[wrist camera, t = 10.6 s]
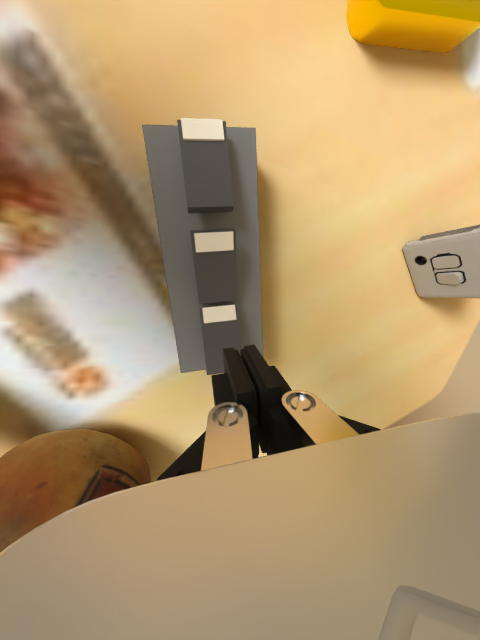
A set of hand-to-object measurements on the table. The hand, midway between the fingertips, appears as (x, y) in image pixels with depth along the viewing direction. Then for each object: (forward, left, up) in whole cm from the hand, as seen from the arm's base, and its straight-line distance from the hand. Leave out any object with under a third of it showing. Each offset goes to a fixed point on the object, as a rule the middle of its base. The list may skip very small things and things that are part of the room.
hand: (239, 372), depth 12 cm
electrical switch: (-3, +32, -19) cm, 38 cm away
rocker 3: (+3, 0, -13) cm, 14 cm away
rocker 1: (-13, 0, -13) cm, 18 cm away
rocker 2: (-5, 0, -13) cm, 14 cm away
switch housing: (-5, 0, -19) cm, 20 cm away
